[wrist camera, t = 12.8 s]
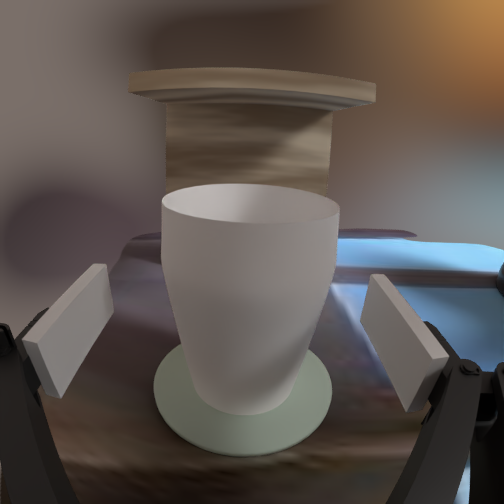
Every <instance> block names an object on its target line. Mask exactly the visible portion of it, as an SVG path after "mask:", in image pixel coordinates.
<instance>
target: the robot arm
mask: <svg viewBox="0 0 504 504" xmlns="http://www.w3.org/2000/svg"><path fill="white" fill-rule="evenodd" d="M496 285H497V288H498V289H499V291H500V292H501V293H502V295H503V296H504V263H503V265H502V266H501V268H500V271H499V274H498V277H497V280H496ZM113 313H114V307H113V301H112V296H111V290H110V284H109V278H108V271H107V265H106V264H93V265H91V266H90V267H89V268H88V269H87V270H86V271H85V273H83V274H82V275H81V276H80V277H79V278H78V279H77V280H76V281H75V282H74V283H73V284H72V285H71V287H69V289H67V291H66V292H65V293H64V294H63V295H62V296H61V297H60V298H59V299H58V300H57V301H56V302H55V303H54V304H53V305H52V306H51V307H50V308H46V309H45V310H43V311H41V312H40V313H38V314H37V316H36V317H35V318H34V319H33V321H31V322H30V323H29V324H28V326H26V327H25V329H24V330H23V331H22V332H21V333H20V334H19V335H18V336H17V337H16V339H15V340H14V338H13V335H12V333H11V330H10V327H9V326H8V325H7V324H3V323H0V462H1V466H2V471H3V475H4V479H5V483H6V487H7V491H8V494H9V498H10V501H11V504H79V501H78V499H77V497H76V495H75V493H74V491H73V489H72V486H71V484H70V482H69V480H68V477H67V475H66V473H65V470H64V468H63V465H62V463H61V460H60V457H59V455H58V452H57V449H56V447H55V444H54V441H53V438H52V435H51V432H50V429H49V426H48V423H47V419H46V416H45V413H44V409H43V405H42V402H41V398H40V395H39V393H38V391H37V389H38V388H39V386H40V385H42V387H43V389H44V391H45V393H46V395H50V396H53V397H57V398H60V399H61V398H62V396H63V394H64V393H65V391H66V389H67V387H68V386H69V384H70V382H71V380H72V379H73V377H74V375H75V374H76V372H77V370H78V369H79V367H80V365H81V364H82V362H83V360H84V359H85V357H86V355H87V354H88V352H89V350H90V349H91V347H92V346H93V344H94V342H95V341H96V339H97V338H98V336H99V334H100V333H101V331H102V330H103V328H104V327H105V325H106V323H107V322H108V320H109V319H110V317H111V316H112V314H113ZM360 321H361V323H362V325H363V327H364V329H365V331H366V333H367V335H368V337H369V339H370V341H371V343H372V344H373V346H374V348H375V350H376V352H377V354H378V356H379V358H380V360H381V362H382V364H383V366H384V368H385V370H386V372H387V374H388V376H389V378H390V380H391V382H392V384H393V387H394V389H395V391H396V393H397V395H398V397H399V399H400V401H401V403H402V405H403V408H404V410H405V412H406V413H408V412H413V411H418V410H422V409H423V407H424V405H425V404H426V402H427V400H429V402H430V404H431V405H432V406H431V408H430V410H429V411H428V413H427V415H426V416H425V418H424V420H423V421H422V423H421V424H422V425H423V427H422V429H421V432H420V434H419V437H418V439H417V441H416V444H415V446H414V448H413V451H412V453H411V455H410V457H409V459H408V461H407V464H406V466H405V468H404V470H403V472H402V474H401V476H400V478H399V480H398V482H397V484H396V486H395V488H394V489H393V491H392V493H391V495H390V497H389V499H388V500H387V502H386V504H453V502H454V500H455V497H456V494H457V491H458V488H459V485H460V482H461V478H462V475H463V472H464V468H465V465H466V461H467V457H468V453H469V449H470V492H469V504H504V362H501V363H499V364H498V365H497V367H496V369H495V371H494V372H484V371H482V370H481V368H480V367H479V366H478V365H477V364H476V363H475V362H473V361H471V360H467V359H460V358H459V356H458V355H457V354H456V352H455V351H454V350H453V348H452V347H451V346H450V345H449V343H448V342H446V339H445V338H444V337H443V336H441V335H442V334H441V333H440V332H439V331H438V329H437V328H436V327H435V326H433V325H432V324H430V323H429V322H428V321H424V322H423V321H422V320H421V318H420V317H419V316H418V315H417V313H416V312H415V311H414V310H413V308H412V307H411V306H410V305H409V304H408V302H407V301H406V300H405V299H404V297H403V296H402V295H401V294H400V293H399V291H398V290H397V289H396V288H395V287H394V285H393V284H392V283H391V282H390V281H389V279H388V278H387V277H386V276H385V275H384V274H371V275H370V280H369V284H368V289H367V293H366V298H365V302H364V306H363V311H362V315H361V319H360Z"/></svg>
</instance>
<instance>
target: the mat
mask: <svg viewBox="0 0 504 504" xmlns="http://www.w3.org/2000/svg"><path fill="white" fill-rule="evenodd" d="M154 395H155V400H156V404H157V407H158V409H159V412H160V414H161V416H162V417H163V419H164V420H165V422H166V423H167V424H168V425H169V427H170V428H171V429H172V430H173V431H174V432H175V433H177V434H178V435H179V436H180V437H181V438H183V439H185V440H186V441H188V442H189V443H191V444H193V445H195V446H197V447H199V448H201V449H204V450H207V451H210V452H213V453H217V454H221V455H227V456H235V457H254V456H263V455H268V454H273V453H277V452H280V451H283V450H286V449H288V448H290V447H292V446H294V445H296V444H298V443H300V442H301V441H303V440H304V439H306V438H307V437H308V436H310V435H311V434H312V433H313V432H314V431H315V430H316V429H317V428H318V426H319V425H320V424H321V423H322V421H323V420H324V418H325V416H326V414H327V411H328V408H329V405H330V402H331V397H332V383H331V379H330V376H329V374H328V371H327V369H326V368H325V366H324V365H323V363H322V362H321V361H320V359H319V358H318V357H317V356H316V355H315V354H314V353H313V352H311V351H310V350H309V349H308V350H307V353H306V355H305V358H304V360H303V363H302V365H301V368H300V371H299V373H298V376H297V378H296V381H295V383H294V385H293V388H292V390H291V393H290V394H289V396H288V397H287V399H286V400H285V401H284V402H283V403H282V404H281V405H279V406H278V407H276V408H274V409H272V410H270V411H268V412H264V413H261V414H256V415H233V414H228V413H225V412H222V411H219V410H217V409H215V408H213V407H211V406H210V405H208V404H207V403H205V402H204V401H203V400H202V399H201V398H200V396H199V395H198V394H197V392H196V390H195V388H194V384H193V381H192V378H191V375H190V371H189V368H188V365H187V362H186V358H185V355H184V351H183V348H182V344H180V345H178V346H177V347H175V348H174V349H173V350H172V351H171V352H169V353H168V354H167V355H166V357H165V358H164V359H163V360H162V362H161V363H160V365H159V367H158V369H157V371H156V374H155V378H154Z"/></svg>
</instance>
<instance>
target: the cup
mask: <svg viewBox="0 0 504 504" xmlns="http://www.w3.org/2000/svg"><path fill="white" fill-rule="evenodd" d="M339 211H340V207H339V206H338V204H337V203H336V202H334V201H333V200H330V199H328V198H327V197H324V196H321V195H318V194H315V193H312V192H308V191H304V190H299V189H294V188H288V187H281V186H272V185H261V184H212V185H202V186H194V187H189V188H184V189H180V190H177V191H174V192H171V193H169V194H167V195H166V196H165V197H163V199H162V243H161V263H162V269H163V274H164V278H165V282H166V287H167V291H168V295H169V299H170V303H171V307H172V311H173V315H174V319H175V322H176V326H177V330H178V334H179V337H180V341H181V344H182V348H183V351H184V355H185V358H186V362H187V365H188V368H189V371H190V375H191V378H192V381H193V384H194V388H195V390H196V392H197V394H198V395H199V396H200V398H201V399H202V400H203V401H204V402H205V403H207V404H208V405H210V406H211V407H213V408H215V409H217V410H219V411H222V412H225V413H228V414H233V415H256V414H261V413H264V412H268V411H270V410H272V409H274V408H276V407H278V406H279V405H281V404H282V403H283V402H284V401H285V400H286V399H287V397H288V396H289V394H290V393H291V390H292V388H293V385H294V383H295V381H296V378H297V376H298V373H299V371H300V368H301V365H302V363H303V360H304V358H305V355H306V353H307V350H308V347H309V345H310V342H311V339H312V337H313V334H314V331H315V328H316V326H317V323H318V320H319V317H320V314H321V311H322V308H323V306H324V303H325V300H326V297H327V294H328V291H329V288H330V285H331V281H332V278H333V275H334V271H335V267H336V256H337V241H338V226H339Z"/></svg>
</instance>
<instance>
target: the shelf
mask: <svg viewBox="0 0 504 504" xmlns="http://www.w3.org/2000/svg"><path fill="white" fill-rule="evenodd" d="M128 92H129V93H133V94H136V95H140V96H143V97H146V98H149V99H152V100H155V101H158V102H161V103H164V104H167V119H166V122H167V123H166V195H167V194H169V193H171V192H174V191H177V190H180V189H184V188H189V187H194V186H202V185H212V184H261V185H272V186H281V187H288V188H294V189H299V190H304V191H308V192H312V193H315V194H318V195H321V196H324V197H326V194H327V182H328V171H329V159H330V146H331V131H332V114H333V111H335V110H339V109H344V108H349V107H354V106H359V105H364V104H370V103H375V99H376V84H374V83H370V82H364V81H359V80H354V79H348V78H342V77H336V76H329V75H322V74H314V73H306V72H295V71H285V70H272V69H255V68H184V69H167V70H155V71H144V72H135V73H129V88H128Z"/></svg>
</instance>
